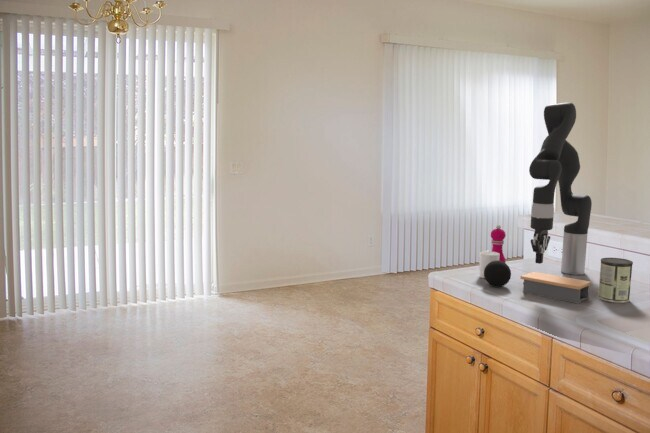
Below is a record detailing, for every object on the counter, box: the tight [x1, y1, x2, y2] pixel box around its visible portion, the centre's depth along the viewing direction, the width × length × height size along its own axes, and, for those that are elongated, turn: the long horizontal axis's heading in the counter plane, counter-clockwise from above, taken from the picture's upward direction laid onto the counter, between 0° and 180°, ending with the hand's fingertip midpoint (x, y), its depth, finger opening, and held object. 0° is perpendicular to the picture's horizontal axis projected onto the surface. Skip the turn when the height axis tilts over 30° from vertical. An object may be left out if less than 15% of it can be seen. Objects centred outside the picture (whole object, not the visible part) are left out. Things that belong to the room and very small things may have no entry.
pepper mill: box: [490, 224, 507, 263], centre depth 250 cm, size 7×7×20 cm
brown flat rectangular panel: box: [520, 271, 592, 290], centre depth 215 cm, size 12×21×1 cm, turn 48°
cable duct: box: [522, 279, 590, 304], centre depth 216 cm, size 10×20×5 cm, turn 48°
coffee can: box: [597, 257, 634, 304], centre depth 212 cm, size 10×10×14 cm
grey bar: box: [522, 281, 589, 299], centre depth 217 cm, size 2×23×2 cm, turn 48°
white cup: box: [478, 250, 500, 279], centre depth 241 cm, size 8×8×10 cm
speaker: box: [483, 261, 512, 288], centre depth 227 cm, size 10×10×10 cm
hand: (539, 263), depth 215 cm, fingers closed
